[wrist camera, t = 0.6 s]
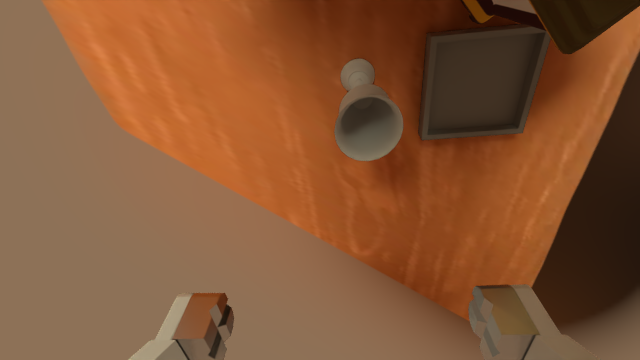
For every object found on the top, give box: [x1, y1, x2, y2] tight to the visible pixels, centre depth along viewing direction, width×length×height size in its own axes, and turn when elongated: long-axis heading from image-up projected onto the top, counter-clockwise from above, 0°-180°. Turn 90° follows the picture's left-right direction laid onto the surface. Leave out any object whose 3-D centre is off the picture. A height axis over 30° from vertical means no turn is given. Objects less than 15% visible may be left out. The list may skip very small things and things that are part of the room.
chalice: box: [334, 59, 403, 161], centre depth 39 cm, size 7×7×18 cm
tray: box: [418, 24, 551, 140], centre depth 45 cm, size 15×15×2 cm
